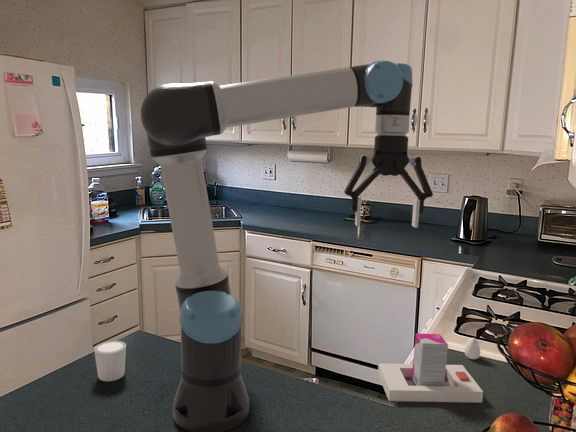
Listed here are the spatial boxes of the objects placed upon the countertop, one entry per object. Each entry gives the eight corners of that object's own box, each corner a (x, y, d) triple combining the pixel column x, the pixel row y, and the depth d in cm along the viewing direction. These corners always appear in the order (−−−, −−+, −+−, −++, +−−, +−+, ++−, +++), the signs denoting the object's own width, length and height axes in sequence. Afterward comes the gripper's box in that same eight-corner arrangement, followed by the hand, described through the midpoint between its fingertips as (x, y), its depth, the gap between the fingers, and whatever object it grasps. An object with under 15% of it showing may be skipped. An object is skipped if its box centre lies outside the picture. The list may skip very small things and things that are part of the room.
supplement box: (444, 393, 105) (448, 344, 103) (417, 392, 105) (421, 343, 103) (436, 379, 110) (440, 333, 109) (410, 379, 110) (414, 332, 108)
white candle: (133, 371, 111) (132, 343, 110) (112, 385, 105) (111, 355, 104) (110, 365, 114) (109, 338, 113) (88, 378, 108) (87, 349, 107)
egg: (474, 354, 125) (476, 334, 124) (482, 361, 121) (484, 340, 120) (461, 355, 124) (463, 335, 123) (468, 361, 121) (470, 341, 120)
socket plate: (388, 401, 102) (389, 387, 101) (377, 373, 113) (378, 361, 113) (482, 402, 102) (483, 389, 101) (461, 374, 114) (462, 362, 113)
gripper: (339, 133, 105) (335, 227, 109) (451, 136, 106) (444, 230, 109) (335, 133, 113) (331, 221, 116) (440, 136, 113) (433, 224, 116)
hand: (386, 226), depth 113 cm, fingers open, 13 cm apart
